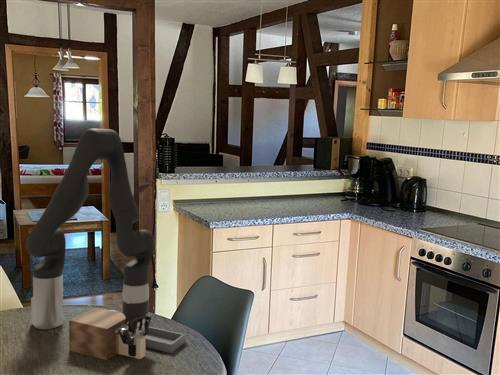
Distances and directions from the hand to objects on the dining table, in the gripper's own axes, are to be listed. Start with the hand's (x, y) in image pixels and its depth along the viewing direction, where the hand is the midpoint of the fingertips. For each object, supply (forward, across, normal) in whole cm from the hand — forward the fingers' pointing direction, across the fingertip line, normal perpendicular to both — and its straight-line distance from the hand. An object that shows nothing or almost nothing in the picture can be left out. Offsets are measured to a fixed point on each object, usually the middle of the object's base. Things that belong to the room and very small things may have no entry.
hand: (135, 353), depth 145 cm
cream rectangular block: (+1, 0, -3) cm, 3 cm away
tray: (+1, -10, 0) cm, 11 cm away
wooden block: (+1, 0, -12) cm, 13 cm away
